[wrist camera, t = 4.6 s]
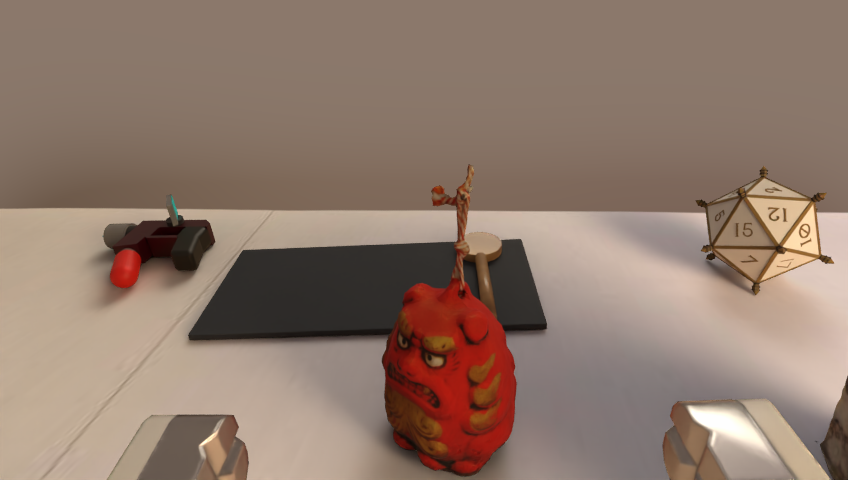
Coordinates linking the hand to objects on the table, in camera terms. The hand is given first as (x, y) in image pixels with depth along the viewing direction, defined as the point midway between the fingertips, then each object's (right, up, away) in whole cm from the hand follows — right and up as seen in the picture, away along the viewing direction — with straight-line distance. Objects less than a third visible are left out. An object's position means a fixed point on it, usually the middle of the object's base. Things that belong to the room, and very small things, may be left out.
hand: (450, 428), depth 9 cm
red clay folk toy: (+1, -7, +19) cm, 21 cm away
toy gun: (-27, +1, +37) cm, 46 cm away
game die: (+25, +1, +30) cm, 40 cm away
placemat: (-5, 0, +32) cm, 32 cm away
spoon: (+4, 0, +31) cm, 31 cm away
